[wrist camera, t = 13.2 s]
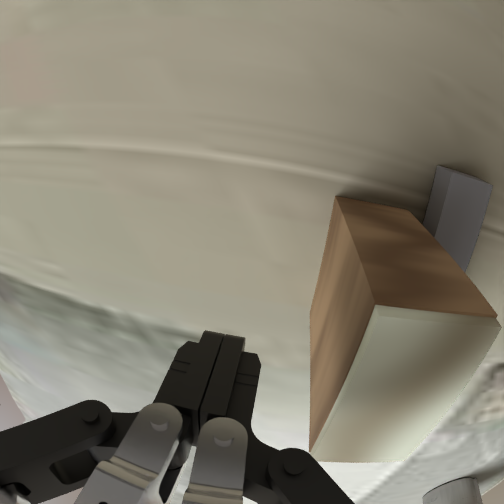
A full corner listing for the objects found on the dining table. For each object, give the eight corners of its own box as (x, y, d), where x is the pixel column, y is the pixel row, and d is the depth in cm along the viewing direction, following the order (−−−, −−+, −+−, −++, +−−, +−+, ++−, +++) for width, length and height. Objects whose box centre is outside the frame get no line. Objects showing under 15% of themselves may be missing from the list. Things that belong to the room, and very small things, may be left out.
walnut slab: (407, 209, 17) (504, 324, 7) (373, 320, 20) (404, 462, 11) (335, 195, 17) (378, 312, 7) (309, 312, 21) (308, 461, 11)
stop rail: (476, 177, 15) (492, 185, 13) (409, 356, 21) (415, 374, 20) (437, 165, 15) (451, 172, 14) (375, 353, 22) (379, 372, 20)
